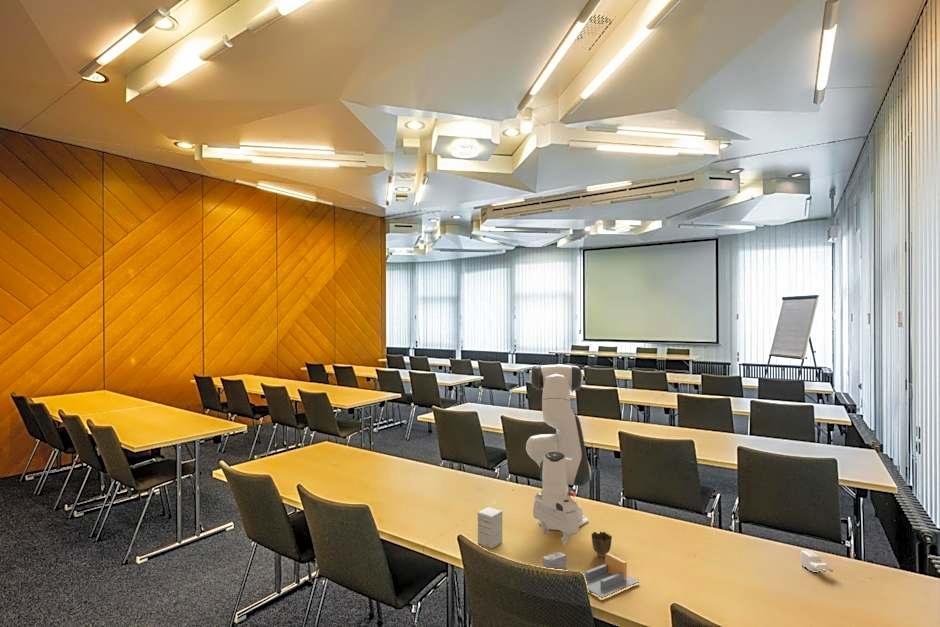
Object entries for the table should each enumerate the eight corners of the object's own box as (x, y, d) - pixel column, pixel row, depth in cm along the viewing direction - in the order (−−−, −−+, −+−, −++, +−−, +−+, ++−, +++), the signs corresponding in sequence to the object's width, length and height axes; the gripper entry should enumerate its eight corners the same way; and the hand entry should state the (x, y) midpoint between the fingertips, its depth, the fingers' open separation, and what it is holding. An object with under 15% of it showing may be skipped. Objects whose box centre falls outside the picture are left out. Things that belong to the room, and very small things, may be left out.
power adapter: (835, 581, 173) (835, 563, 173) (822, 581, 173) (822, 564, 173) (810, 565, 184) (810, 549, 185) (798, 565, 184) (798, 549, 184)
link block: (559, 565, 184) (559, 551, 184) (566, 569, 181) (566, 555, 181) (542, 571, 179) (542, 557, 179) (549, 575, 176) (549, 561, 177)
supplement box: (488, 537, 207) (488, 506, 207) (502, 542, 202) (503, 510, 202) (476, 543, 201) (477, 511, 201) (491, 549, 196) (491, 516, 196)
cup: (608, 551, 194) (608, 530, 194) (614, 561, 187) (614, 539, 187) (589, 551, 194) (589, 531, 194) (594, 561, 187) (594, 539, 187)
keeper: (606, 567, 182) (606, 547, 182) (638, 585, 170) (638, 563, 170) (570, 581, 172) (570, 560, 172) (601, 601, 160) (601, 578, 160)
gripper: (529, 493, 187) (529, 530, 187) (568, 509, 170) (568, 551, 170) (542, 490, 191) (542, 527, 190) (581, 506, 173) (581, 546, 173)
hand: (554, 538), depth 180 cm, fingers open, 8 cm apart
